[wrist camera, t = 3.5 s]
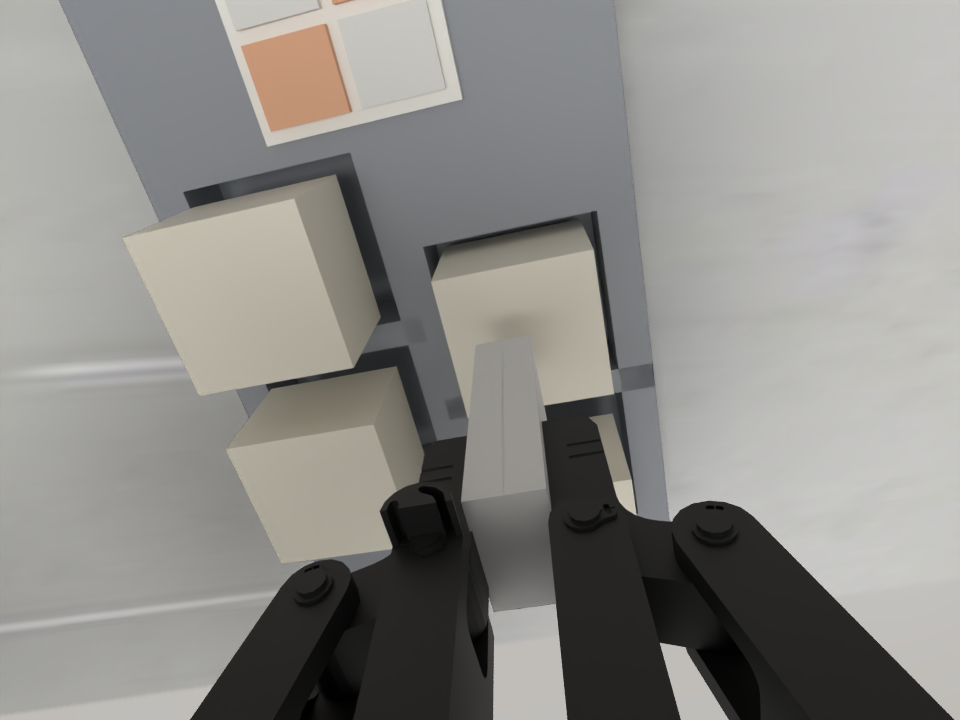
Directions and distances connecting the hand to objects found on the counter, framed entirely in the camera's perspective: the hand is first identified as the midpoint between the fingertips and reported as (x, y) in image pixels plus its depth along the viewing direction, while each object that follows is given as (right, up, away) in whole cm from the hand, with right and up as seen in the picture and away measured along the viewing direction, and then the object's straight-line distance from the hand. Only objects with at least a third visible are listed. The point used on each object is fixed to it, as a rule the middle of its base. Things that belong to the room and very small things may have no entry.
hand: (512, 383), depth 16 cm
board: (-3, +5, +8) cm, 10 cm away
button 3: (+1, +3, +6) cm, 7 cm away
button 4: (-7, +4, +4) cm, 9 cm away
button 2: (-6, -2, +7) cm, 9 cm away
